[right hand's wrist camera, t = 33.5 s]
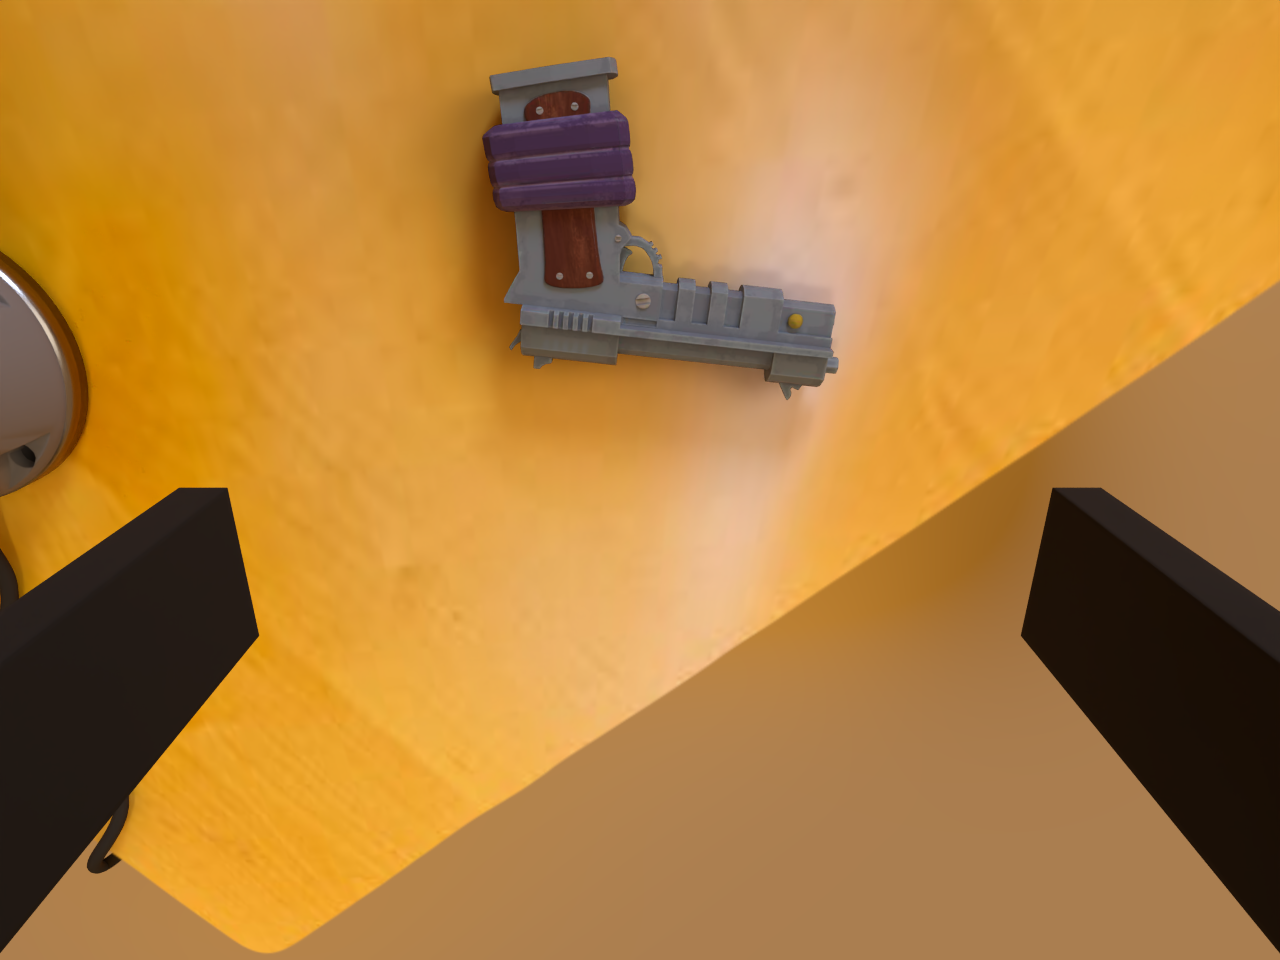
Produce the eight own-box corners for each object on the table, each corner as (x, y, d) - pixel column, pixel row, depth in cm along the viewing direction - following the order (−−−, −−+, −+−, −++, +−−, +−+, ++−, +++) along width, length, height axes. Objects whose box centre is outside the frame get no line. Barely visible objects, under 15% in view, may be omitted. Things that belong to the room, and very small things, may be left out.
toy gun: (881, 98, 38) (820, 394, 43) (497, 50, 37) (486, 358, 43) (906, 91, 34) (836, 414, 40) (482, 37, 33) (472, 375, 39)
